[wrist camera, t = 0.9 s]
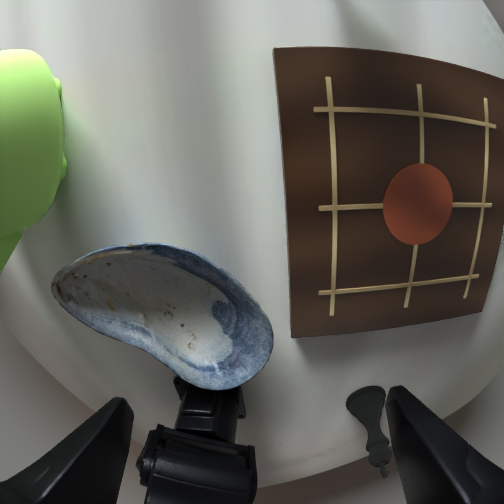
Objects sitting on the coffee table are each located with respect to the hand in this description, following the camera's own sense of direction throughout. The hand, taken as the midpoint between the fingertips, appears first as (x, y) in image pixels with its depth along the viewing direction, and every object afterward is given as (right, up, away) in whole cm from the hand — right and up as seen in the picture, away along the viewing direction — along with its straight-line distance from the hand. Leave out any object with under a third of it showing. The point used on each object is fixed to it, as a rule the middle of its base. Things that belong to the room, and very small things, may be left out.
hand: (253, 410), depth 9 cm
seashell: (-6, +1, +15) cm, 16 cm away
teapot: (-18, +14, +9) cm, 25 cm away
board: (+11, +9, +10) cm, 17 cm away
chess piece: (+12, -10, +19) cm, 25 cm away
